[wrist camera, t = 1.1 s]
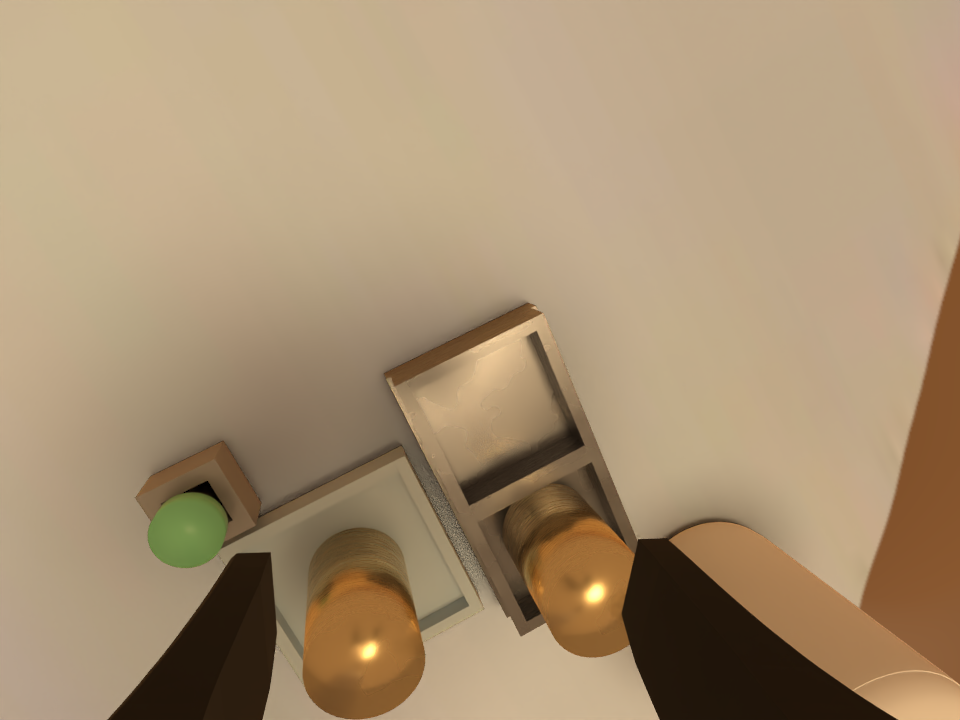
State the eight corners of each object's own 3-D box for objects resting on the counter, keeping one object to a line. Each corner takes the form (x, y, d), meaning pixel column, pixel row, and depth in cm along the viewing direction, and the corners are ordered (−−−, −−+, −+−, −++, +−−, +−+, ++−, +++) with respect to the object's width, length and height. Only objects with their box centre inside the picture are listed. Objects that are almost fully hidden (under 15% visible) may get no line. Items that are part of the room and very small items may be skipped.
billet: (335, 630, 27) (337, 739, 21) (290, 556, 26) (279, 651, 20) (420, 585, 28) (444, 680, 22) (379, 510, 27) (393, 590, 21)
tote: (314, 682, 28) (314, 701, 27) (221, 536, 26) (216, 551, 25) (478, 593, 29) (484, 609, 28) (401, 445, 27) (404, 455, 25)
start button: (189, 540, 24) (171, 580, 22) (155, 489, 24) (133, 523, 21) (247, 511, 25) (237, 546, 22) (215, 459, 24) (201, 489, 21)
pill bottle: (602, 570, 30) (848, 887, 16) (744, 487, 31) (1100, 717, 17) (659, 690, 32) (920, 1062, 18) (791, 610, 33) (1139, 904, 19)
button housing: (191, 538, 25) (180, 564, 23) (150, 476, 25) (135, 498, 23) (261, 503, 26) (255, 525, 24) (223, 440, 25) (214, 459, 23)
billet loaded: (523, 584, 28) (573, 677, 22) (488, 510, 27) (530, 588, 21) (602, 541, 29) (670, 621, 23) (570, 467, 27) (634, 531, 22)
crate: (501, 604, 29) (516, 638, 27) (384, 373, 26) (389, 388, 23) (626, 536, 30) (651, 563, 28) (528, 302, 26) (548, 310, 24)
